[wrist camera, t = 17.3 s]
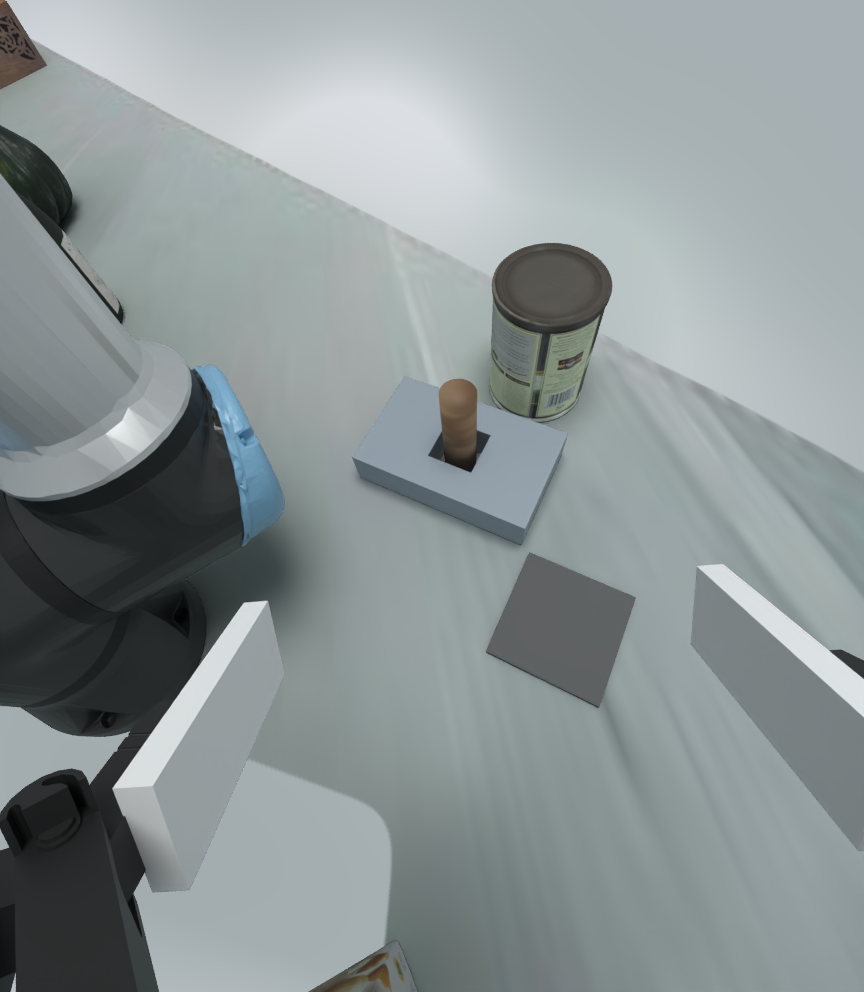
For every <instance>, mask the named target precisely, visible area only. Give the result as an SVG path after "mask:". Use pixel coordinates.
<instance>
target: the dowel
mask: <svg viewBox="0 0 864 992" xmlns="http://www.w3.org/2000/svg"><path fill="white" fill-rule="evenodd" d="M439 405H440V416H441V426H442V436H443V446H444V456H445V463H447V464H450V465H452V466H455V467H458V468H460V469H463V470H465V471H468V472H470V473H471V472H472V470H473V468H474V467H475V465H476V448H477V390H476V388H475V386H474V385H473V384H472V383H471V382H469V381H467V380H464V379H453V380H450V381H448V382H446V383H444V384H443V385H442V387H441V388H440V390H439Z"/></svg>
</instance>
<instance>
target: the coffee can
mask: <svg viewBox="0 0 864 992" xmlns="http://www.w3.org/2000/svg"><path fill="white" fill-rule="evenodd" d="M611 292H612V280H611V277H610V274H609V271H608V270H607V268H606V266H605V265H604V264H603V263H602V262H601V260H599V259H598V258H597V257H595V256H594V255H593V254H591V253H589V252H588V251H585V250H583V249H581V248H578V247H575V246H571V245H567V244H560V243H544V244H536V245H532V246H528V247H524V248H522V249H519V250H517V251H515V252H514V253H512V254H510V255H509V256H508V257H506V258H505V259H504V260H503V261H502V262H501V263H500V264H499V266H498V267H497V269H496V271H495V273H494V276H493V280H492V293H493V312H492V339H491V367H490V380H489V391H490V394H491V396H492V399H493V401H494V402H495V403H496V405H497V406H498V407H499V408H500V409H501V410H503V411H506V412H509V413H511V414H514V415H517V416H520V417H523V418H526V419H528V420H531V421H534V422H545V421H550V420H553V419H556V418H559V417H561V416H563V415H564V414H566V413H567V412H568V411H570V410H571V409H572V408H573V407H574V406H575V404H576V402H577V401H578V399H579V396H580V393H581V388H582V384H583V381H584V377H585V373H586V370H587V367H588V363H589V360H590V357H591V353H592V350H593V347H594V343H595V340H596V337H597V333H598V330H599V326H600V323H601V320H602V316H603V313H604V309H605V307H606V305H607V303H608V301H609V298H610V296H611Z"/></svg>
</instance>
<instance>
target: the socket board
mask: <svg viewBox="0 0 864 992" xmlns="http://www.w3.org/2000/svg"><path fill="white" fill-rule="evenodd" d="M439 390H440V388H438V387H435V386H432V385H429V384H426V383H424V382H421V381H418V380H415V379H412V378H409V377H407V376H404V378H403V379H402V381H401V382H400V384H399V385H398V387H397V389H396V390H395V392H394V393H393V395H392V396H391V398H390V399H389V401H388V403H387V404H386V406H385V407H384V409H383V410H382V412H381V413H380V415H379V416H378V418H377V420H376V421H375V423H374V424H373V426H372V427H371V429H370V430H369V432H368V434H367V435H366V437H365V438H364V440H363V441H362V443H361V444H360V446H359V448H358V449H357V451H356V452H355V454H354V455H353V457H352V458H353V461H354V463H355V465H356V468H357V470H358V473H359V475H360V477H361V478H364V479H366V480H369V481H371V482H373V483H376V484H378V485H380V486H383V487H385V488H387V489H390V490H392V491H395V492H397V493H399V494H402V495H404V496H406V497H409V498H411V499H413V500H416V501H418V502H421V503H423V504H425V505H428V506H430V507H432V508H435V509H437V510H439V511H442V512H444V513H446V514H449V515H451V516H454V517H456V518H458V519H461V520H463V521H465V522H468V523H470V524H472V525H475V526H477V527H480V528H482V529H484V530H487V531H489V532H491V533H494V534H496V535H498V536H501V537H503V538H505V539H508V540H510V541H513V542H515V543H517V544H520V545H522V542H523V540H524V538H525V536H526V533H527V531H528V529H529V527H530V524H531V522H532V520H533V518H534V515H535V513H536V511H537V509H538V507H539V504H540V502H541V500H542V498H543V495H544V493H545V491H546V489H547V486H548V484H549V482H550V480H551V477H552V475H553V473H554V471H555V469H556V466H557V464H558V462H559V460H560V457H561V455H562V452H563V449H564V445H565V442H566V439H567V436H568V433H565V432H563V431H560V430H557V429H554V428H551V427H548V426H546V425H543V424H540V423H537V422H534V421H531V420H528V419H526V418H523V417H520V416H517V415H514V414H511V413H509V412H506V411H503V410H500V409H497V408H494V407H492V406H489V405H486V404H483V403H480V402H477V448H476V452H479V453H481V455H480V457H479V459H478V461H477V463H476V465H475V467H474V468H473V470H472V472H471V473H470V472H468V471H465V470H463V469H460V468H458V467H455V466H452V465H450V464H447V463H445V462H442V461H440V459H441V457H442V455H443V453H444V446H443V436H442V426H441V416H440V405H439Z"/></svg>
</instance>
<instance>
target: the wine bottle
mask: <svg viewBox="0 0 864 992" xmlns="http://www.w3.org/2000/svg"><path fill="white" fill-rule="evenodd" d="M14 192H15V193H16V194H17V195H18V197H19V198H20V199H21V200H22V201H23V203H24V204H25V205H26V206H27V208H28V209H29V210H30V211H31V213H32V214H33V215H34V216H35V218H36V219H37V220H38V221H39V223H40V224H41V225H42V226H43V228H44V229H45V230H46V231H47V233H48V234H49V235H50V236H51V238H52V239H53V240H54V241H55V243H56V244H57V245H58V246H59V248H60V249H61V250H62V251H63V253H64V254H65V255H66V256H67V258H68V259H69V260H70V261H71V263H72V264H73V265H74V266H75V268H76V269H77V270H78V271H79V273H80V274H81V275H82V276H83V278H84V279H85V280H86V281H87V283H88V284H89V285H90V286H91V288H92V289H93V290H94V291H95V292H96V294H97V295H98V296H99V297H100V299H101V300H102V301H103V302H104V304H105V305H106V306H107V307H108V309H109V310H110V311H111V312H112V314H113V315H114V316H115V317H116V319H117V320H118V321H119V322H120V320H121V316H122V308H121V305H120V302H119V301H118V299H117V298H116V297H115V295H114V294H113V293H112V292H111V290H110V289H109V288H108V287H107V285H106V284H105V283H104V282H103V280H102V279H101V278H100V277H99V275H98V274H97V273H96V272H95V270H94V269H93V268H92V267H91V265H90V264H89V263H88V262H87V260H86V259H85V258H84V256H83V255H82V254H81V253H80V251H79V250H78V249H77V248H76V246H75V245H74V244H73V243H72V241H71V240H70V239H69V238H68V236H67V235H66V234H65V233H64V231H63V230H62V229H61V228H60V227H59V226H58V225H57V224H56V223H55V222H54V221H53V220H52V219H51V218H50V217H49V216H48V215H47V214H45V213H44V212H43V211H42V210H41V209H39V208H38V207H37V206H36V205H34V204H33V203H32V202H30V201H29V200H28V199H26V198H25V197H24V196H22V195H21V194H19V193H18V192H16V191H15V190H14Z"/></svg>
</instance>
